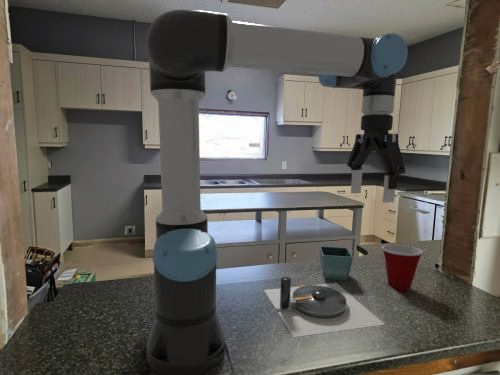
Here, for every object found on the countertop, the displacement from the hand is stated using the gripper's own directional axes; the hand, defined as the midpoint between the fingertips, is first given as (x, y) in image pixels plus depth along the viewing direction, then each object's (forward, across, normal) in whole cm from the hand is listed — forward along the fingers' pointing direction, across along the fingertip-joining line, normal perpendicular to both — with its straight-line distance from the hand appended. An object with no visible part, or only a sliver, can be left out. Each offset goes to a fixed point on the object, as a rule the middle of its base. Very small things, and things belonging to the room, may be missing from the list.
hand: (370, 197), depth 85 cm
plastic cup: (+28, +3, -14) cm, 31 cm away
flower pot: (+28, +12, +2) cm, 30 cm away
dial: (+26, -4, +17) cm, 32 cm away
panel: (+28, -4, +16) cm, 32 cm away
